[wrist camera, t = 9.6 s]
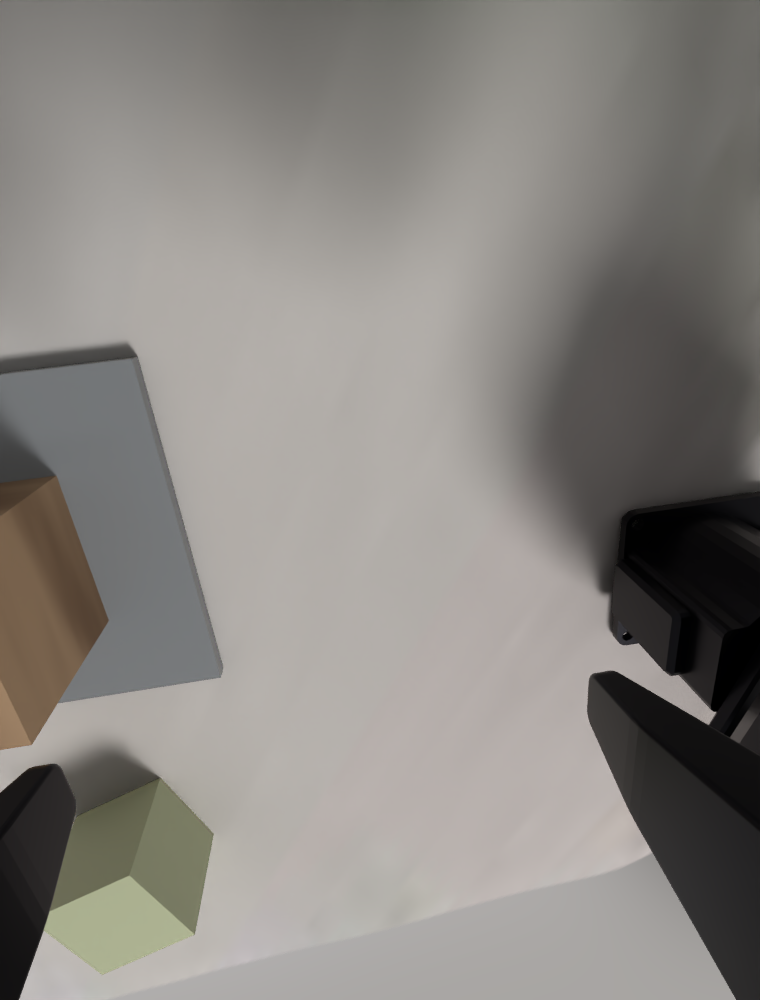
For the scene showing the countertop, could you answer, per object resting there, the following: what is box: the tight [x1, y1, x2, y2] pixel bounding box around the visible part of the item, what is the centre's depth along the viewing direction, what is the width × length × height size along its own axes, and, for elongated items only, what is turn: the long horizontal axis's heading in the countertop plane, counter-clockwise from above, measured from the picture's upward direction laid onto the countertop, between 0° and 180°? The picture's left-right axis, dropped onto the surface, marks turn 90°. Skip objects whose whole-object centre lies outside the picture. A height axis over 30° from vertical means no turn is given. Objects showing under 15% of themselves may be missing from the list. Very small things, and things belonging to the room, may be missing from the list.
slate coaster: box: [0, 357, 223, 703], centre depth 19 cm, size 13×13×1 cm
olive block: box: [44, 778, 214, 975], centre depth 24 cm, size 4×4×4 cm
